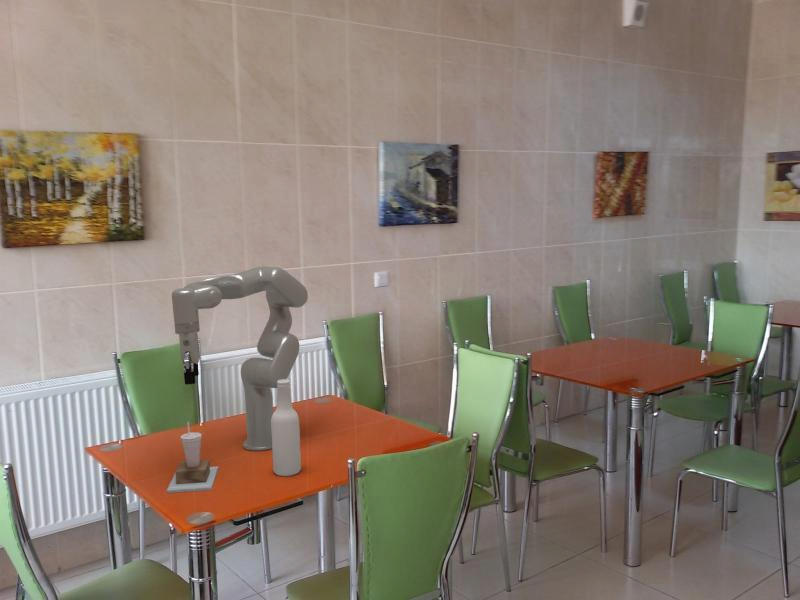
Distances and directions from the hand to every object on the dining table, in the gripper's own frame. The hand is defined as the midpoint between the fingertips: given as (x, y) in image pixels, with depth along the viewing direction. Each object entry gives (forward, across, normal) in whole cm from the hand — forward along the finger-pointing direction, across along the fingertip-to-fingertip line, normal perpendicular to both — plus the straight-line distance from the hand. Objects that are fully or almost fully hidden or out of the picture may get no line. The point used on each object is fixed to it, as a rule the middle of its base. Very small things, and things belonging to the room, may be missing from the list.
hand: (192, 379), depth 236 cm
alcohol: (+31, -9, -28) cm, 43 cm away
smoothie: (+25, -10, +1) cm, 27 cm away
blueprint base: (+30, -10, +1) cm, 31 cm away
